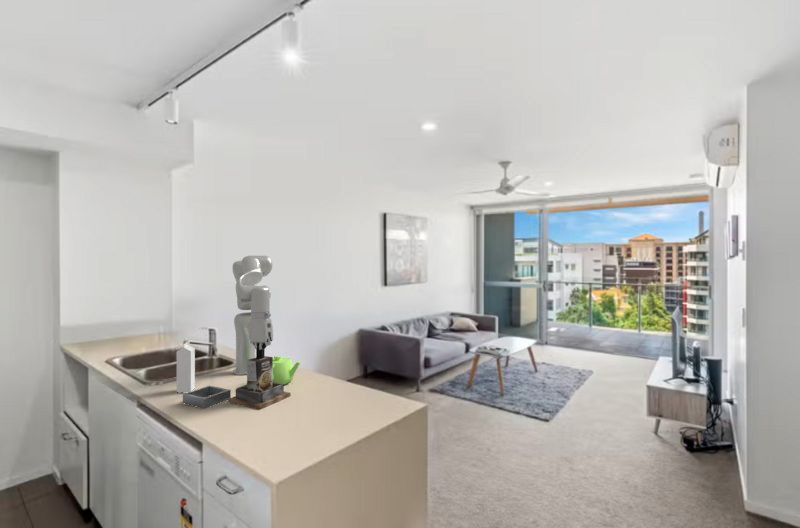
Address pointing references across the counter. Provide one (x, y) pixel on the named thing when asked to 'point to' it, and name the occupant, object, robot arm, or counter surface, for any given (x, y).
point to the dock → (259, 396)
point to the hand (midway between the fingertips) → (260, 358)
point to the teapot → (283, 369)
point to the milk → (186, 369)
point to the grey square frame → (198, 400)
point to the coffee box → (259, 374)
